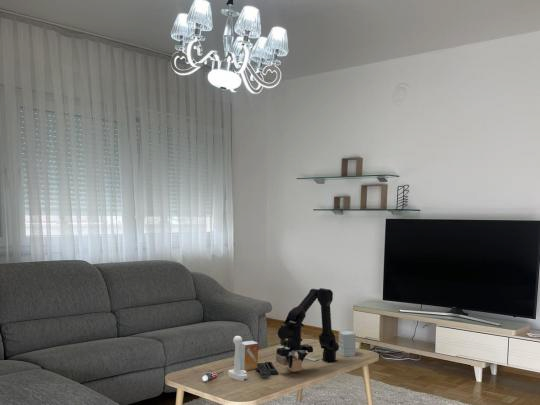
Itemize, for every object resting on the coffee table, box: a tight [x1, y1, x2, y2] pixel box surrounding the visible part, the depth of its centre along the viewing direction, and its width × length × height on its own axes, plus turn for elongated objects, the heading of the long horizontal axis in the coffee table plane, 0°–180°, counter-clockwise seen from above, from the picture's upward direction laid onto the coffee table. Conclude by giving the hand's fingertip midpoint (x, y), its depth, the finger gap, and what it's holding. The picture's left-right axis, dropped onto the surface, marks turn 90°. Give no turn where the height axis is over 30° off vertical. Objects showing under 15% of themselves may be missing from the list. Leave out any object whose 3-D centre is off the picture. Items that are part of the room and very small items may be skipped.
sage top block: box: [276, 345, 296, 358], centre depth 266 cm, size 7×7×4 cm
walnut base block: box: [275, 353, 298, 366], centre depth 266 cm, size 8×8×4 cm
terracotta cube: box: [287, 357, 303, 372], centre depth 249 cm, size 5×5×5 cm
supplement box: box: [337, 330, 356, 358], centre depth 283 cm, size 7×7×13 cm
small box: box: [240, 340, 259, 371], centre depth 254 cm, size 8×6×13 cm
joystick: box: [228, 335, 248, 382], centre depth 240 cm, size 11×8×20 cm
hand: (294, 367), depth 249 cm, fingers closed on terracotta cube, 5 cm apart
